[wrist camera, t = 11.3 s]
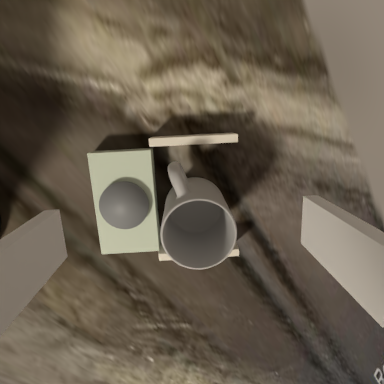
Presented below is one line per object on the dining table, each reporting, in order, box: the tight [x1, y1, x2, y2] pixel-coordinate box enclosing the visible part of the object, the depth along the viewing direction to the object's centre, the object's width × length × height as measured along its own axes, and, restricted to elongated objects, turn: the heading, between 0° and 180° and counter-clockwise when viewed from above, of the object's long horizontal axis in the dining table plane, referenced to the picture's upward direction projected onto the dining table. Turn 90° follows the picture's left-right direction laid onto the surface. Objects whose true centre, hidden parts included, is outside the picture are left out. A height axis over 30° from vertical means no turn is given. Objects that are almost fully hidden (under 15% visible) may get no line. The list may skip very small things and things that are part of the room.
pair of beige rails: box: [87, 133, 239, 261], centre depth 38 cm, size 19×16×4 cm
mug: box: [160, 161, 237, 269], centre depth 35 cm, size 12×8×11 cm
